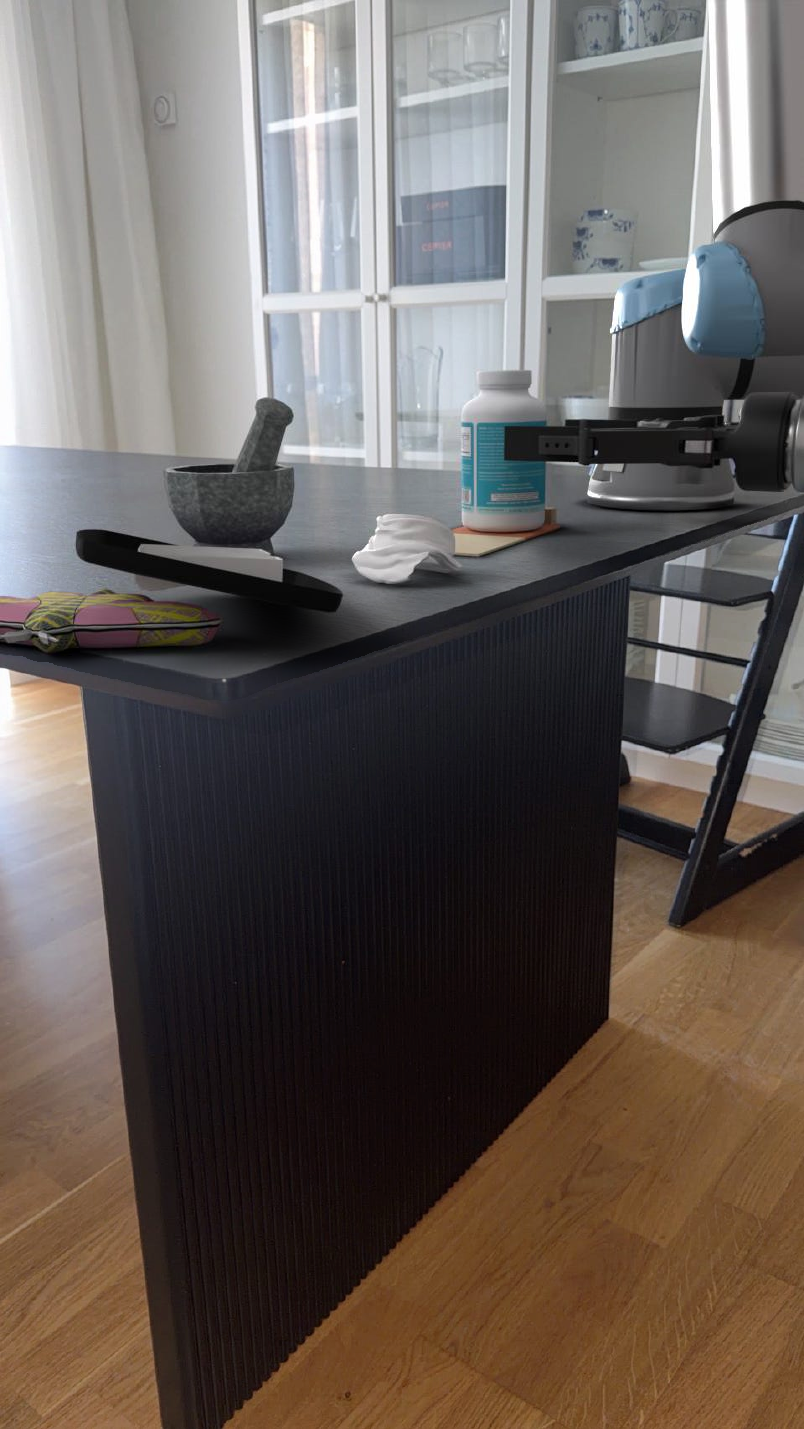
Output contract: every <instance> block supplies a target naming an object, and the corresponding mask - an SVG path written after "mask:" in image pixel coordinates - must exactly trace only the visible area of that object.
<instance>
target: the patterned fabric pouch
mask: <svg viewBox="0 0 804 1429" xmlns="http://www.w3.org/2000/svg"><path fill="white" fill-rule="evenodd" d="M221 622H222V618H221V617H220V616H219V615H218V614H216V613H214V612H213V611H212V610H210V609H209V608H207V607H203V606H201V605H198V604H197V605H196V604H191V603H185V602H181V601H180V602H179V601H168V600H154V599H152V598H150V597H149V596H147V595H145V594H140V593H117V592H115V591H114V590H112V589H110V588H102V589H99V590H97V591H94V592H92V593H90V594H86V593H79V592H73V591H55V590H54V591H46V592H43V593H40V594H39V593H38V594H36V595H34V596H32V597H28V598H23V597H17V596H11V595H0V642H3V643H7V644H15V645H24V646H30V647H31V646H32V647H37V648H38V649H39V650H41V651H42V652H44V653H48V654H52V653H59V652H63V651H66V650H68V649H117V648H118V649H119V648H123V649H124V648H145V647H184V646H185V647H187V646H188V647H189V646H190V647H192V646H200V645H204V644H207V643H209V642H211V641H212V640H213V639H214V637H215V635H216V633H217V632H218V630H219V628H220V625H221Z"/></svg>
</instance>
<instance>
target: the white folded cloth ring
mask: <svg viewBox="0 0 804 1429" xmlns="http://www.w3.org/2000/svg"><path fill="white" fill-rule="evenodd" d="M376 523H377V524H376V525H377V527H376V528H375V531H374V532H375V533H374V534H373V535H372V536H371V537H370V538H369V540H368V543H367V544H366V545H365V547H364V548H363V549H362V550H357V551H356V552H355V553H354V554H353V556H352V558H351V562H352V564H353V565H354V567H355V569H356V570H357V571H358V574H360V575H361V576H363V577H364V578H366V579H368V580H371V581H372V582H375V583H381V584H382V583H385V584H389V585H391V584H400V583H405V582H407V581H410V579H411V577H410V575H411V574H412V573H414V570H415V568H416V569H421V570H427V571H432V572H438V573H445V574H447V573H451V572H454V571H460V569H459V568H463V565H462V563H461V562H459V561H457V560H455V558H453V557H454V556H455V555H454V554H455V537H454V534H453V532H452V529H450V528H448V527H447V526H445V525H444V524H443V523H441V522H439V521H437V520H435V519H434V518H431V517H428V516H423V515H415V514H407V513H406V514H405V513H387V514H383V515H378V517H377V518H376Z"/></svg>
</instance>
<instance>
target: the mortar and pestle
mask: <svg viewBox="0 0 804 1429" xmlns="http://www.w3.org/2000/svg"><path fill="white" fill-rule="evenodd" d="M254 410H255V416H254V419H253V420H252V423H251V425H250V428H249V430H248V433H247V434H246V438H245V439H244V442H243V445H242V447H241V450H240V452H239V454H238V456H237V459H236V461H235V462H234V463H208V464H193V465H180V466H173V467H167V468H163V469H162V471H163V484H164V490H165V495H166V499H167V503H168V508H169V509H170V511H171V512H172V515H173V516H174V518H175V520H176V521H177V523H178V524H179V526H180V528H182V529H183V531H185V532H186V533H187V534H188V535H189V536H190V537H191V538H192V539H194V543H193V546H201V547H225V548H249V549H262V550H264V551H266V552H268V553H270V554H271V556H275V553H274V552H275V551H274V546H273V543H272V540H271V538H272V537H273V536H275V534H276V533H277V532H278V531H279V530H280V529H281V528H282V527H283V526H284V524H285V522H286V520H287V518H288V516H289V513H290V511H291V510H292V507H293V502H294V491H295V467H293V466H291V465H288V464H278V463H277V460H278V456H279V453H280V450H281V447H282V443H283V440H284V437H285V433H286V429H287V427H288V426H289V425H291V424H292V423H293V420H294V417H295V415H294V412H293V409H292V408H291V406H289V405H287V404H286V403H285V402H284V401H281V400H279V399H277V398H273V397H267V396H266V397H261V398H258V399H257V400H256V403H255V405H254Z"/></svg>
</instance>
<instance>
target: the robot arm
mask: <svg viewBox="0 0 804 1429" xmlns="http://www.w3.org/2000/svg"><path fill="white" fill-rule="evenodd" d="M708 18H709V19H708V20H709V21H708V22H709V24H708V25H709V68H710V69H709V71H710V119H711V120H710V122H711V165H712V166H711V167H712V168H711V170H712V172H711V173H712V218H713V235H712V236H713V237H712V238H713V242H712V243H711V244H710V243H709V244H708V243H707V244H702V245H700V246H698V247H696V248H695V249H694V250H693V252H692V253H691V254H690V257H689V260H688V262H687V265H686V268H679V269H675V270H669V271H664V272H659V273H658V272H657V273H653V274H648V275H645V276H640V277H636V278H632V279H630V280H628V281H626V282H624V283H623V284H622V285H621V286H620V287H619V288H618V290H617V291H616V293H615V298H614V304H613V312H612V324H611V327H610V329H609V334H611V355H610V356H611V357H610V358H611V359H610V375H609V376H610V378H609V394H608V397H609V398H608V416H607V417H608V418H607V419H602V418H601V419H597V418H596V419H595V418H593V419H592V418H591V419H589V418H579V419H577V418H574V419H573V418H567V419H564V425H547V426H505V431H504V461H541V462H546V463H547V462H548V463H577V464H578V465H581V466H583V467H589V466H590V465H594V467H593V470H592V472H591V475H590V479H589V483H588V488H587V502H588V503H589V504H591V505H593V506H597V507H598V506H599V507H604V508H612V509H622V510H639V511H640V510H641V511H697V510H713V509H720V508H725V507H730V506H732V505H734V504H735V494H736V493H735V492H736V490H735V482H736V485H737V486H738V488H739V489H740V490H742V491H744V492H766V493H767V492H769V493H783V492H784V491H785V490H788V489H789V488H790V486H791V484H792V487H793V489H794V490H795V491H796V492H797V493H804V0H708ZM725 401H743V402H742V403H741V407H740V410H739V413H738V421H725V415H724V414H723V413H724V410H723V409H724V404H725ZM729 459H731V460H732V461H733V463H734V466H735V467H734V472H733V471H732V468H731V463H730V460H729ZM733 475H734V476H733ZM734 478H735V480H734Z"/></svg>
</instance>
